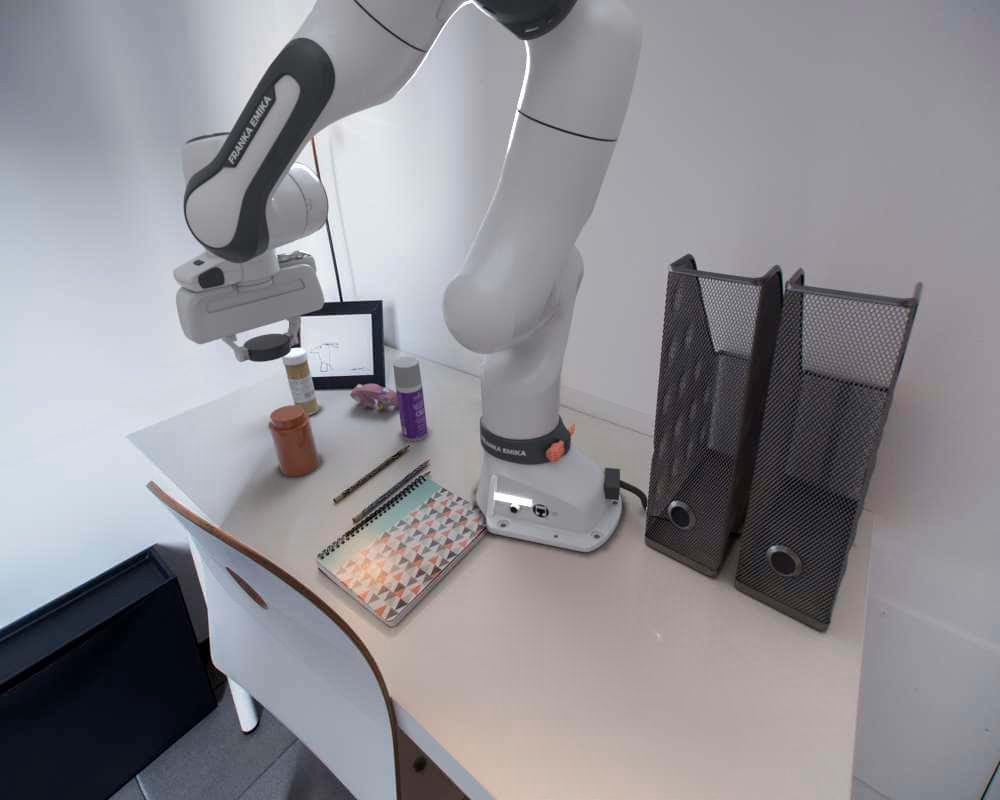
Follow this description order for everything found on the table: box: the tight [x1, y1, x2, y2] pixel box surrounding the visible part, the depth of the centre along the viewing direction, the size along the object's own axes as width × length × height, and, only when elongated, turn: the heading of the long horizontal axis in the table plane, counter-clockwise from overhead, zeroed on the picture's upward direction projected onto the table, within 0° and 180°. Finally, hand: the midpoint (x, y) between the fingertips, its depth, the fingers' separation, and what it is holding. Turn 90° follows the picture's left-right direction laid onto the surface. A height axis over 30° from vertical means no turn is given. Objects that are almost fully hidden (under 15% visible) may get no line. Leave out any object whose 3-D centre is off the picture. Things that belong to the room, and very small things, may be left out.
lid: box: [242, 333, 292, 363], centre depth 81 cm, size 6×6×2 cm
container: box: [392, 356, 428, 442], centre depth 96 cm, size 5×5×15 cm
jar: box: [268, 404, 321, 477], centre depth 89 cm, size 6×6×11 cm
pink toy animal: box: [350, 383, 398, 410], centre depth 108 cm, size 10×5×7 cm
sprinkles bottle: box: [281, 347, 320, 417], centre depth 105 cm, size 5×5×14 cm
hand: (268, 351), depth 81 cm, fingers closed on lid, 6 cm apart
